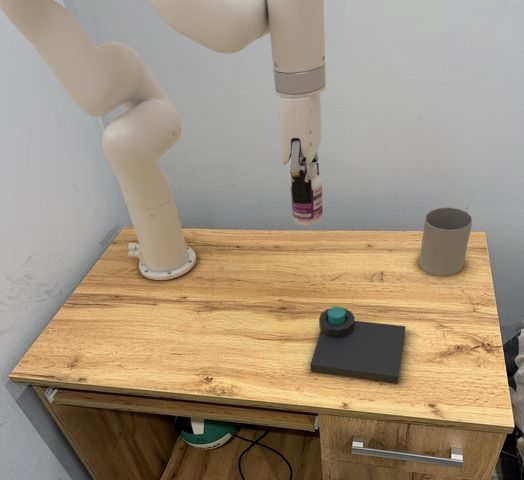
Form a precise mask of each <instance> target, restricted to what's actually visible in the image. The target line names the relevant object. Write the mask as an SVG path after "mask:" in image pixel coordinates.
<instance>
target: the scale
mask: <svg viewBox="0 0 524 480" xmlns="http://www.w3.org/2000/svg"><path fill="white" fill-rule="evenodd" d="M331 308H332V307H330V308H327V309H326V310H324V311H323V312H321V313H320V315H319V319H318V325H319V326H318V327H319V329H320V333H319V336H318V339H317V341H316V345H315V349H314V351H313V355H312V357H311V360H310V364H309V367H310V372H312V373H319V374H326V375H331V376H333V375H334V376H340V377H346V378H353V379H362V380H368V381H375V382H382V383H383V382H384V383H389V384H399V379H400V370H401V365H402V357H403V350H404V343H405V335H406V327H407V326H406V325H398V324H389V323H380V322H372V321H360V320H355V316H354V314H353V312H352V311H351V310H349V309H347V308H344V307H342V308H343V309H345V311H346V321H345V322H344V323H343V324H341V325H332V324H330V323H329V321H328V311H329V309H331Z"/></svg>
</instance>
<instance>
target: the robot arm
mask: <svg viewBox="0 0 524 480" xmlns="http://www.w3.org/2000/svg"><path fill="white" fill-rule="evenodd" d="M148 2H149V4H150V5H151V7H152V8H153V10H154V11H155V12H156V13H157V14H158V15H159V16H160V18H161V19H162V21H164V22H165V23H166V25H168V26H169V27H171V29H173V30H175V31H176V32H177V33H179V34H180V35H183V36H184V37H186V38H188V39H190V40H191V41H193V42H195V43H196V44H198V45H201V46H202V47H204V48H206V49H208V50H211V51H214V52H217V53H221V54H227V55H228V54H236V53H238V52H241V51H242V50H244V49H245V48H247V47H249V45H250V44H252V43H253V42H255V41H257V40H259V39H261V38H263V37H265V36H266V35H270V46H271V48H270V49H271V56H272V58H271V59H272V67H273V70H272V71H273V80H274V81H273V82H274V91H275V95H276V96H278V97H279V104H278V105H279V107H278V116H279V117H278V122H279V123H278V125H279V126H278V127H279V149H280V162H281V163H282V165H287V164H288V163H289V161H290V165H289V174H290V183H292V196H293V203H296V204H311V203H312V185H311V180H309V163H311V162H314V163H316V164H317V171H318V172H317V175H318V176H319V177H320V169H319V153H318V150H319V147H320V145H321V141H322V109H321V93H322V92H324V91H325V90H326V89H327V83H326V82H327V81H326V80H327V78H326V77H327V76H326V48H325V47H326V46H325V45H326V43H325V42H326V41H325V37H326V36H325V7H324V6H325V3H324V2H325V1H324V0H148ZM0 9H1V11H2V12H3V14H5V16H6V17H7V19H8V20H9V21H10V22H11V24H13V26H14V27H15V28H16V29H17V30H18V31H19V32H20V34H22V35H23V36H24V38H25V39H27V41H28V42H29V43H30V44H31V45H32V46H33V48H34V49H35V50H36V51H37V53H38V55H40V57H41V58H42V60H43V62H44V63H45V64H46V65H47V67H48V68H49V69H50V71H51V72H52V73H53V75H54V76H55V77H56V79H57V80H58V81H59V83H60V84H61V86H62V87H63V88H64V89H65V91H66V92H67V94H69V96H70V97H71V99H72V100H73V102H75V104H76V105H77V106H78V108H79V109H81V111H83V112H84V113H85V114H86V115H88V116H91V117H102V116H105V115H107V114H109V113H111V112H113V111H114V110H115V109H117V108H119V107H120V106H122V105H123V106H124V108H125V110H126V111H124V112H123V113H122V114H120V115H119V116H118V117H116V118H115V119H113V120H112V121H111V122H110V123H109V124H108V125H107V126H106V128H105V129H104V132H103V134H102V137H101V138H102V139H101V146H102V147H101V148H102V151H103V154H104V156H105V158H106V161H107V163H108V165H109V166H110V168H111V170H112V172H113V173H114V176H115V178H116V180H117V182H118V184H119V185H118V186H119V187H120V190H121V193H122V196H123V198H124V201H125V205H126V207H127V211H128V213H129V217H130V220H131V223H132V226H133V229H134V232H135V236H136V239H137V242H129V243H128V246H127V248H128V257H130V258H138V259H139V262H138V269H139V272H140V274H141V275H142V276H144V277H145V278H147V279H150V280H153V281H167V280H172V279H175V278H179V277H181V276H183V275H185V274H187V273H188V272H189V271H191V270H192V269H193V268H194V266H195V265H196V263H197V254H196V252H195V250H194V249H193V248H191V247H190V246H187V244H186V240H185V236H184V232H183V228H182V224H181V220H180V216H179V211H178V208H177V207H178V206H177V203H176V199H175V195H174V191H173V188H172V184H171V182H170V178H169V177H168V176H167V174H166V173H165V171H164V170H163V169H162V167H161V166H160V164H159V159H160V158H161V157H162V156H163V155H164V154H165V153H167V152H168V151H169V150H170V149H171V148H172V147H173V146H175V145H176V143H177V142H178V141H179V140H180V137H181V134H182V121H181V118H180V115H179V113H178V111H177V109H176V107H175V106H174V104H173V102H172V101H171V99H170V98H169V96H168V94H167V93H166V91H165V90H164V88H163V87H162V86H161V83H160V82H159V81H158V80H157V78H156V75H154V73H153V71H152V70H151V68H150V67H149V66H148V64H147V63H146V61H145V60H144V58H143V57H142V55H140V54H139V53H138V52H137V51H136V50H135V49H134V48H133V47H131V46H130V45H128V44H126V43H124V42H121V41H108V42H105V43H103V44H101V45H99V46H98V45H96V43H95V42H94V41H93V40H92V38H91V37H90V36H89V35H88V33H87V32H86V30H85V29H84V27H83V26H82V24H81V23H80V21H79V20H78V19H77V18H76V17H75V16H74V14H72V13H71V12H70V11H69V10H68V9H67V8H65V6H63V5H61V4H60V3H58V2H57V1H56V0H0ZM300 166H305V173H304V171H303V170H300V169H301V168H300Z"/></svg>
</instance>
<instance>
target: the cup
mask: <svg viewBox="0 0 524 480" xmlns="http://www.w3.org/2000/svg"><path fill="white" fill-rule="evenodd" d="M472 225H473V217H472V215H471V214H470V213H468V212H467V211H465V210H463V209H460V208H455V207H438V208H435V209H432V210H430V211H429V212H428V213H426V214H425V217H424V223H423V231H422V232H423V233H422V238H421V239H422V240H421V247H420V254H419V261H418V262H419V267H420V268H421V269H422V270H423V271H424V272H426V273H428V274H430V275H435V276H439V277H443V276H444V277H445V276H452V275H455V274H457V273H459V272H461V270H462V269H463V268H464V263H465V259H466V254H467V249H468V246H469V245H468V244H469V239H470V234H471V230H472Z"/></svg>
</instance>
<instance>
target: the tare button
mask: <svg viewBox="0 0 524 480" xmlns="http://www.w3.org/2000/svg"><path fill="white" fill-rule="evenodd" d="M330 308H331V309H330ZM330 308H328V309H329V311H328V321H329V323H330V324H332V325H341V324H343V323H344V322H345V321H346V311H345V309H346V308H345V309H343V308H344V307H341V306H332V307H330Z"/></svg>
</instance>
